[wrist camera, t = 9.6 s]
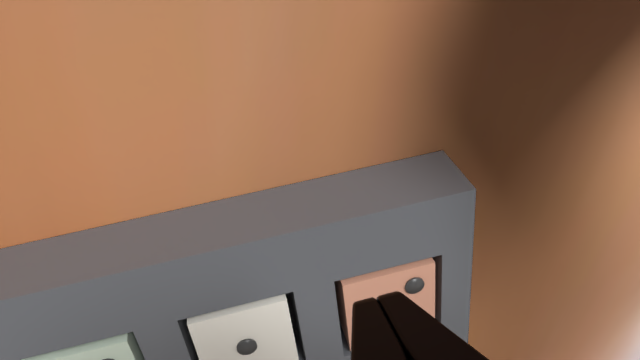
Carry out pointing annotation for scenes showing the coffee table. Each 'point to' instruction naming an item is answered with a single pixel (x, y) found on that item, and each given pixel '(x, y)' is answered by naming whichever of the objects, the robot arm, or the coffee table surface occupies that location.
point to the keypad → (243, 262)
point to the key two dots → (99, 350)
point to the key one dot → (245, 332)
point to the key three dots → (387, 288)
